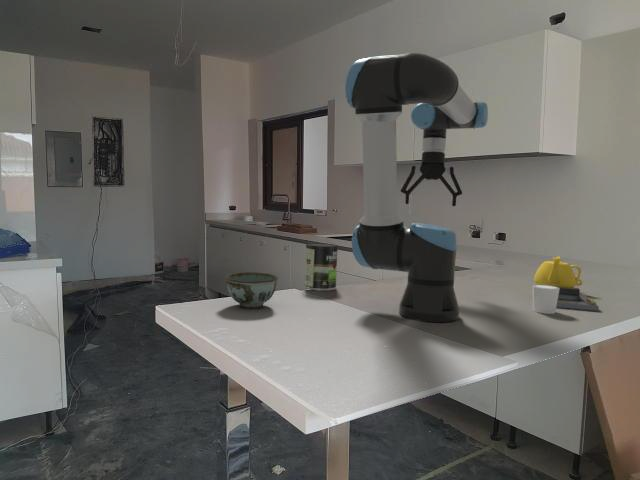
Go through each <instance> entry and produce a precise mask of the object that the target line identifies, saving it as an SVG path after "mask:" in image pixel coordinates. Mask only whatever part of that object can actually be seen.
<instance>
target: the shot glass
mask: <svg viewBox="0 0 640 480" xmlns="http://www.w3.org/2000/svg"><path fill="white" fill-rule="evenodd" d="M531 288H532V312H533V311H534V312H535V313H538V312H539V313H540V314H543V315H544V314H546V315H547V314H549V315H554V314H556V310H557V309H556V305H557V300H559V299H558V295H559V289H560V288H558V287H555V286H550V285H537V284H533V285H532V287H531ZM539 313H538V314H539Z"/></svg>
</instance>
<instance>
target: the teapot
mask: <svg viewBox="0 0 640 480" xmlns="http://www.w3.org/2000/svg"><path fill="white" fill-rule="evenodd" d="M561 260H562V259H561V257H560V256H559V255H557V256H556V257H552V260H551V261H550V260H546V261H543V262H542V263H541V264H540V266H539V267H538V268H537V270H536V272H535V274H534V277H533V281H534V283H535V285H550V286H562V287H574V288H575V286H577V287H579V286H582V285H583V280H582V279H580V278H581V274H582V269H581V267H580V266H579V265H577V264H572V265H570V264H569V263H568V262H564V261H563V262H562V261H561ZM573 268H576V269H577V271H578V272H577V275H575V273H574V270H573Z"/></svg>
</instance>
